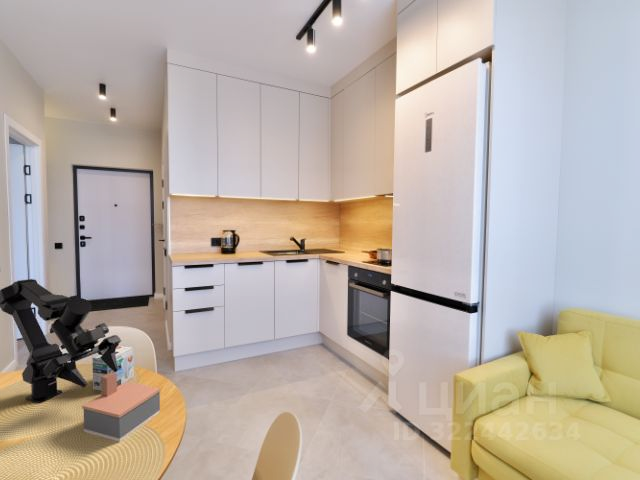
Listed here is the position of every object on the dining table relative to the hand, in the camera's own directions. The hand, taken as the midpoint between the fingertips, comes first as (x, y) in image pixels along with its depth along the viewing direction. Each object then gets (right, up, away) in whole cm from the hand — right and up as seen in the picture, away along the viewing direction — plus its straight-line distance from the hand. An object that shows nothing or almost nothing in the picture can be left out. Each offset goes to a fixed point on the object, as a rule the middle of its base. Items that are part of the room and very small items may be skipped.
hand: (101, 378), depth 90 cm
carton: (+7, -11, -1) cm, 13 cm away
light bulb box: (-9, -10, +19) cm, 23 cm away
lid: (+7, -5, -2) cm, 9 cm away
